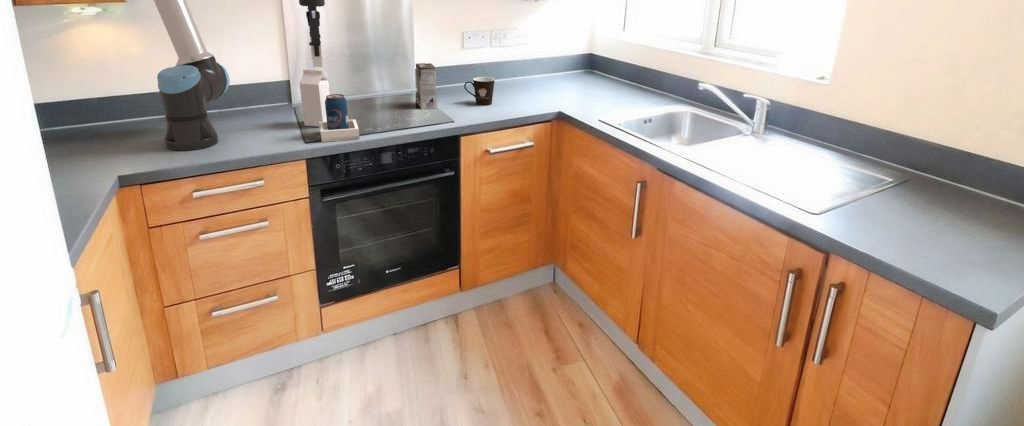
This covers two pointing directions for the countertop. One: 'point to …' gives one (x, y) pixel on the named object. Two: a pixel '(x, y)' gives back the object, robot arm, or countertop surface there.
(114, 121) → the countertop surface
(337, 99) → the soda can
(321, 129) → the bin
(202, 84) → the robot arm
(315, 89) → the milk carton
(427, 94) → the coffee box
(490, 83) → the coffee mug
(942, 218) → the countertop surface
